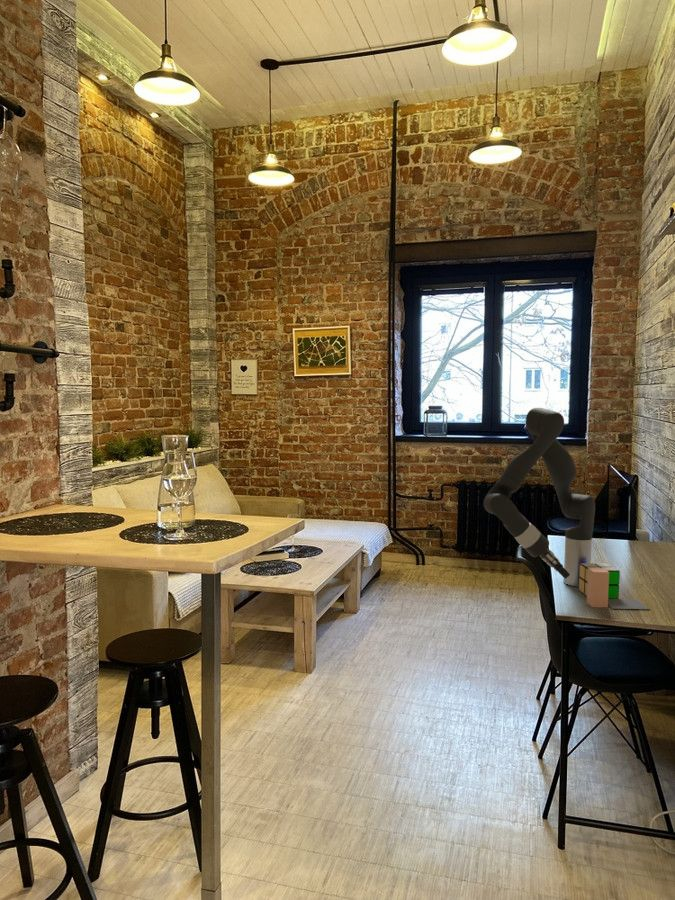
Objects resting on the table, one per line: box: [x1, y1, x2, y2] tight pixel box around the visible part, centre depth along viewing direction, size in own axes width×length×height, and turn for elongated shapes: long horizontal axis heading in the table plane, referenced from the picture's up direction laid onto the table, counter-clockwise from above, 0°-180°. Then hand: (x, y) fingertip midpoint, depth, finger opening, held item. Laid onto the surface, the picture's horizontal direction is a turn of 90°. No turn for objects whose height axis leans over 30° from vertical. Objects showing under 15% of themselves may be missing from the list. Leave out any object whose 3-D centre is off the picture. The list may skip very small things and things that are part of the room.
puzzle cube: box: [578, 562, 621, 599], centre depth 224 cm, size 10×10×10 cm
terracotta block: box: [586, 568, 609, 608], centre depth 213 cm, size 5×5×12 cm
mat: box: [608, 598, 651, 611], centre depth 214 cm, size 10×12×1 cm
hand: (567, 576), depth 212 cm, fingers closed
